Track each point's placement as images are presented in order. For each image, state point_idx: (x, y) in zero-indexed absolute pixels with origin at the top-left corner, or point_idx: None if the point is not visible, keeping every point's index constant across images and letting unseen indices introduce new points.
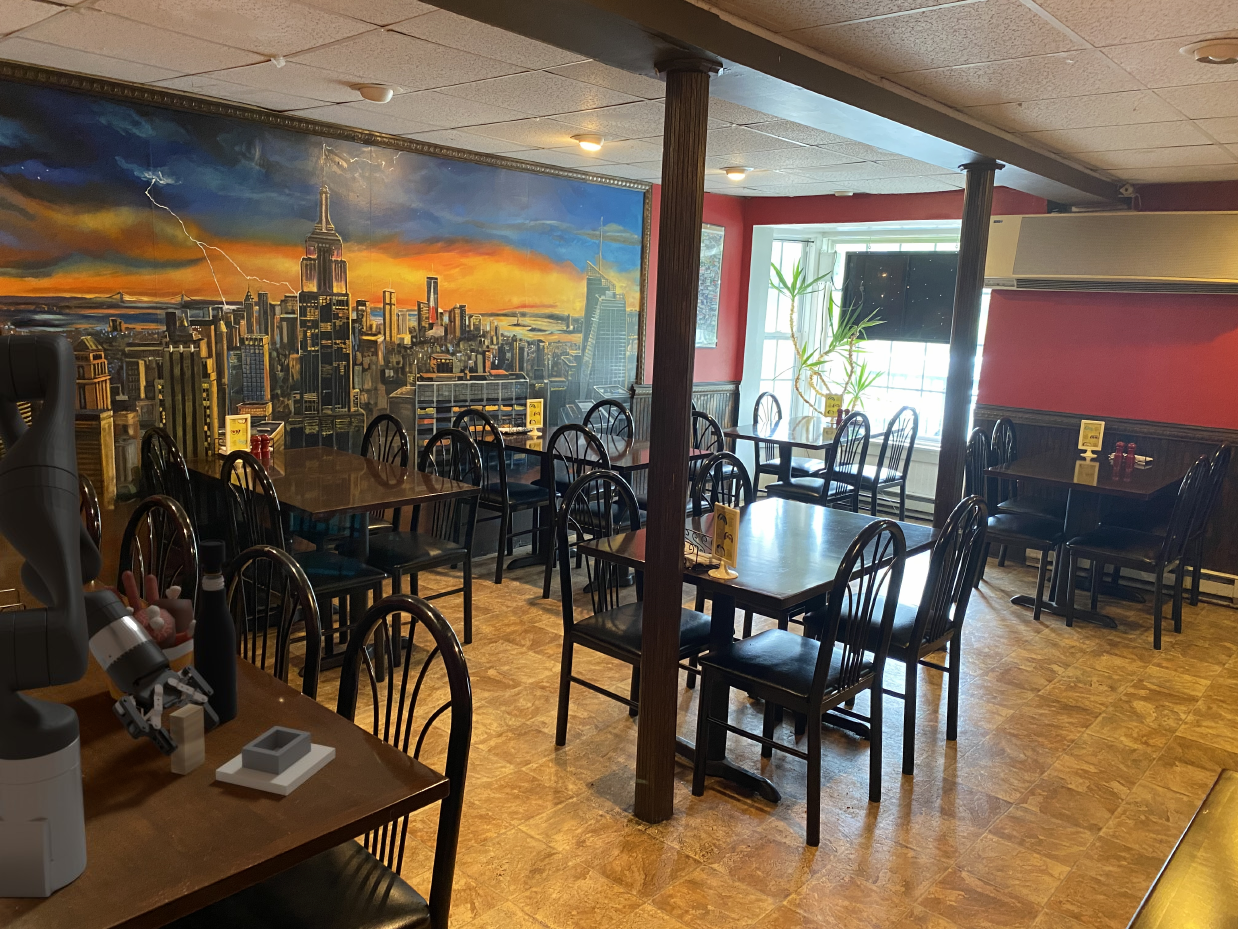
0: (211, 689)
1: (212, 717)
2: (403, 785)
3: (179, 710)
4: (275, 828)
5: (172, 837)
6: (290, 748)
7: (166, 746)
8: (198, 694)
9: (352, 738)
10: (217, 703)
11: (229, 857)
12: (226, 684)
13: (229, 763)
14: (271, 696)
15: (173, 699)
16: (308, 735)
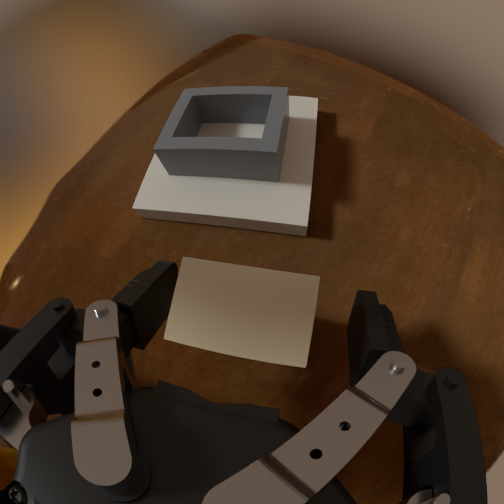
0: (49, 304)
1: (163, 271)
2: (250, 43)
3: (245, 347)
4: (391, 101)
5: (472, 208)
6: (249, 87)
7: (389, 312)
8: (91, 329)
9: (131, 119)
10: (45, 357)
11: (457, 127)
12: (5, 333)
13: (269, 214)
14: (8, 304)
15: (196, 406)
16: (192, 89)
